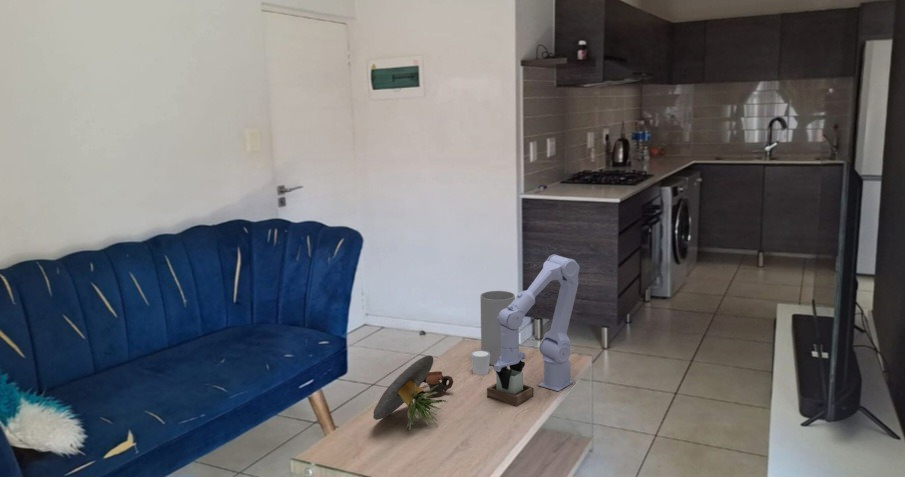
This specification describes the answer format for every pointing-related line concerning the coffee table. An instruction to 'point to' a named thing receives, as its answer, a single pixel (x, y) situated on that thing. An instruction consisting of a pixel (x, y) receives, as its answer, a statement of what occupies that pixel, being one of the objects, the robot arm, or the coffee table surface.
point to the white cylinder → (480, 362)
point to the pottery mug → (438, 383)
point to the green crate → (512, 383)
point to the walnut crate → (510, 395)
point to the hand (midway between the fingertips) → (510, 385)
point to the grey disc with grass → (409, 393)
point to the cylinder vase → (493, 321)
